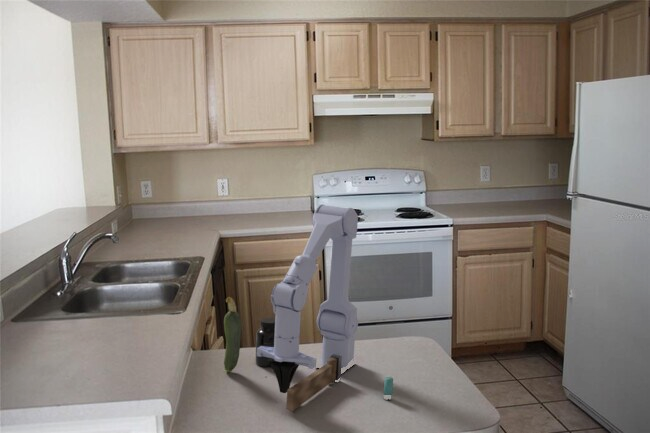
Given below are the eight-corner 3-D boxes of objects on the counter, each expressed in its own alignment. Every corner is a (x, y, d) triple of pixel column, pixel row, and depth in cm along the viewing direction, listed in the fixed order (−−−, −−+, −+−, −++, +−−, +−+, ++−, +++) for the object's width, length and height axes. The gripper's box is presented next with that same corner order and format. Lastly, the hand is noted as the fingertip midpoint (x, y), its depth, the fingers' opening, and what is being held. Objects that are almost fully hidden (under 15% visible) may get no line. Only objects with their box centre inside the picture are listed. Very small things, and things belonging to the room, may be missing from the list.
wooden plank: (328, 378, 147) (329, 357, 146) (337, 380, 146) (338, 359, 145) (284, 409, 129) (285, 385, 128) (294, 412, 128) (295, 388, 127)
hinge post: (331, 378, 149) (333, 354, 148) (340, 380, 148) (341, 356, 147) (329, 380, 148) (330, 356, 147) (337, 383, 146) (338, 358, 146)
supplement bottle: (252, 359, 159) (254, 316, 157) (276, 357, 161) (278, 315, 159) (258, 369, 152) (260, 324, 151) (283, 367, 155) (285, 323, 153)
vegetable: (240, 370, 151) (243, 294, 148) (238, 376, 147) (241, 299, 144) (223, 369, 151) (225, 294, 148) (220, 376, 147) (223, 298, 144)
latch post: (385, 396, 140) (386, 376, 140) (393, 398, 139) (394, 378, 139) (381, 399, 139) (383, 379, 138) (389, 401, 138) (391, 381, 137)
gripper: (250, 333, 133) (248, 390, 135) (307, 346, 127) (304, 405, 129) (266, 325, 139) (264, 379, 141) (321, 336, 133) (318, 393, 135)
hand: (284, 391), depth 135 cm, fingers closed
